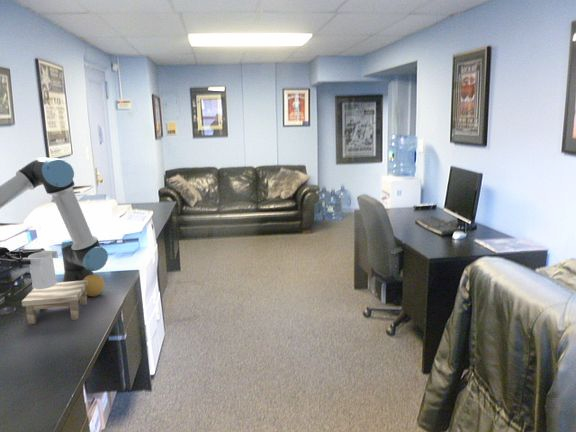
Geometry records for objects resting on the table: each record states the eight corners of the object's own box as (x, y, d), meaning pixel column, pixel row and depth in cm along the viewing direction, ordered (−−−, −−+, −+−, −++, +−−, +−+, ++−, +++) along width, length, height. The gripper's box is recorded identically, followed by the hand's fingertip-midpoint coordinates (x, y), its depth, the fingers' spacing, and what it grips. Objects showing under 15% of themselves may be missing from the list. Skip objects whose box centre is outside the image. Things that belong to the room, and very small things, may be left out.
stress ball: (108, 295, 213) (103, 278, 219) (104, 285, 206) (100, 267, 211) (85, 302, 210) (81, 284, 215) (81, 292, 202) (76, 273, 207)
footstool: (40, 306, 200) (37, 284, 198) (89, 301, 204) (87, 280, 202) (25, 325, 181) (21, 301, 179) (79, 320, 185) (76, 296, 183)
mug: (55, 290, 171) (50, 260, 168) (29, 294, 168) (24, 263, 165) (58, 278, 182) (53, 250, 179) (33, 281, 179) (28, 252, 176)
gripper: (16, 257, 187) (67, 259, 184) (-27, 275, 166) (29, 277, 163) (14, 240, 186) (65, 241, 182) (-31, 255, 165) (26, 256, 161)
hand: (48, 258), depth 173 cm, fingers closed on mug, 9 cm apart
